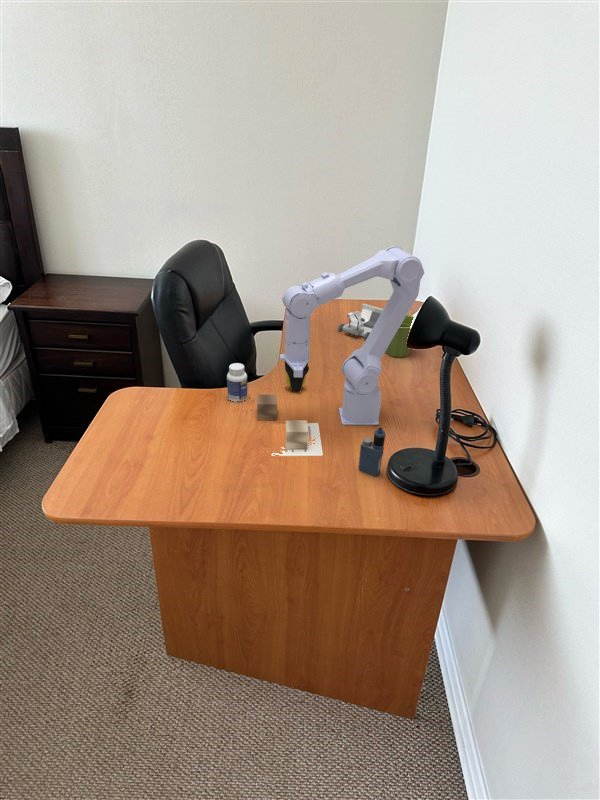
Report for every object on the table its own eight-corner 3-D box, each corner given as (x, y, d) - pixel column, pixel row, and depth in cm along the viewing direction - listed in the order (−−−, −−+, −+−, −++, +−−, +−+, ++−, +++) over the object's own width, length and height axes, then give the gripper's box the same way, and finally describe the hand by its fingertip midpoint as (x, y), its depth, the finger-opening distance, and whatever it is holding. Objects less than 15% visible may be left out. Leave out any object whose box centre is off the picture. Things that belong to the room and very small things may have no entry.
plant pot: (421, 351, 182) (426, 318, 177) (407, 364, 174) (411, 330, 168) (388, 342, 188) (392, 310, 182) (372, 354, 179) (376, 321, 173)
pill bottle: (244, 404, 150) (243, 372, 145) (225, 401, 151) (223, 369, 146) (249, 394, 155) (249, 363, 150) (231, 392, 156) (230, 360, 151)
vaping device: (377, 478, 124) (383, 433, 118) (356, 470, 126) (360, 425, 120) (382, 472, 126) (388, 428, 120) (361, 464, 128) (366, 420, 122)
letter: (318, 423, 143) (318, 423, 143) (322, 456, 131) (322, 455, 131) (271, 423, 142) (271, 423, 142) (271, 456, 130) (271, 455, 130)
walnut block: (276, 410, 148) (276, 394, 145) (276, 421, 144) (277, 404, 141) (257, 410, 148) (257, 394, 145) (257, 421, 143) (257, 404, 141)
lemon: (282, 391, 157) (282, 366, 153) (290, 382, 161) (290, 357, 157) (300, 395, 155) (301, 370, 151) (308, 386, 159) (309, 361, 155)
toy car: (364, 316, 182) (335, 308, 188) (361, 344, 187) (333, 335, 193) (392, 302, 194) (364, 294, 200) (389, 328, 199) (361, 320, 205)
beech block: (306, 437, 137) (306, 420, 134) (307, 449, 133) (308, 431, 130) (285, 437, 137) (285, 420, 134) (286, 449, 132) (286, 431, 130)
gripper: (279, 326, 136) (278, 375, 142) (280, 352, 123) (280, 405, 130) (308, 326, 136) (306, 376, 143) (312, 352, 123) (310, 405, 130)
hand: (295, 390), depth 136 cm, fingers closed
